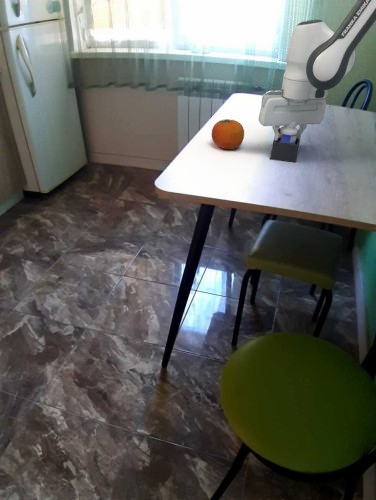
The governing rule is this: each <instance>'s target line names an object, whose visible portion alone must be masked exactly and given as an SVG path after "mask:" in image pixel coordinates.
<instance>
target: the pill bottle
mask: <svg viewBox="0 0 376 500" xmlns="http://www.w3.org/2000/svg"><path fill="white" fill-rule="evenodd" d="M297 126H298V125H296V122H291V124H290V125H283V126H280V128H281V129H280V134H281V140H280V141H278V142H280V143H288V144H295V142H296V137H297V132H298V130H299V129H298V128H297Z"/></svg>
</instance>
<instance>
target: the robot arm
mask: <svg viewBox="0 0 376 500" xmlns="http://www.w3.org/2000/svg"><path fill="white" fill-rule="evenodd" d="M375 23H376V0H357V1H356V2H355V3H354V5H353V6H352V8H351V9H350V11H348V13H347V15H346V16H345V18H344V20H342V21H341V23H340V25H339V26H338V27H337V29H336V30H335V31H333V30H332V29H331V28H330V27H328V25H327V24H326V22H325V20H322V19H309V20H305V21H304V20H303V21H301V22H299V23H298V24H296V25H295V26H294V27H293V30H292V32H291V37H290V40H289V44H288V49H287V54H286V67H285V71H284V73H283V77H282V83H281V88H280V89H274V90H273V89H269V90H267V91H266V92H264V94H263V95H262V97H261V106H260V109H259V114H258V122H259V124H260V125H261V126H262V127H272V130H273V133H274V136H273V140H275V141H280V140H281V134H280V133H278V130H277V129H279V128H281V127H283V126H284V125H290V124H291V122H296V125H297V126H298V127H299V128H298V129H297V130H298V132H297V137H296V140H300V141H301V137H302V135H303V133H304V132H305V130H306V129H307V126H308V125H320V124H321V123H322V122H323V121H324V119H325V114H326V109H327V99H326V98H327V96H328V94H329V92H328V90H331V89H333V88H335V87H336V86H337V85H339V84H340V82H341V81H342V80H343V78H345V76H347V75H348V74H349V72H350V71H351V70H352V68H353V67H354V64H355V62H356V57H357V53H356V49H357V47H358V46H359V45H360V43H361V42H362V40H363V39H364V38H365V37H366V36H367V34H368V32H369V31H370V30H371V29H372V28H373V26H374V25H375Z"/></svg>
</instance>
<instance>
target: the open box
mask: <svg viewBox="0 0 376 500" xmlns="http://www.w3.org/2000/svg"><path fill="white" fill-rule="evenodd" d="M280 129H281V127H280V128H279V129H277V130H278V133H280ZM300 143H301V139H300V140H296V142H295V144H288V143H280V142H278V141H275V140H274V139H273V140H272V144H271V145H272V146H271V150H270V156H269V160H272V161H279V162H280V161H281V162H288V163H294V164H295V163H297V159H298V154H299V150H300Z"/></svg>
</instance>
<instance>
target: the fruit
mask: <svg viewBox="0 0 376 500" xmlns="http://www.w3.org/2000/svg"><path fill="white" fill-rule="evenodd" d="M244 139H245V129H244V126H243V125H242V124H241V122H239V121H237V120H235V119H228V118H226V119H225V118H224V119H222V120H218V121H217V122H215V124H214V125H213V127H212V129H211V140H212V141H213V143H214V144H215V145H216V146H218V147H219V148H222V149H226V150H234V149H236V148H238V147H240V146H241V145H242V143H243V141H244Z"/></svg>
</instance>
